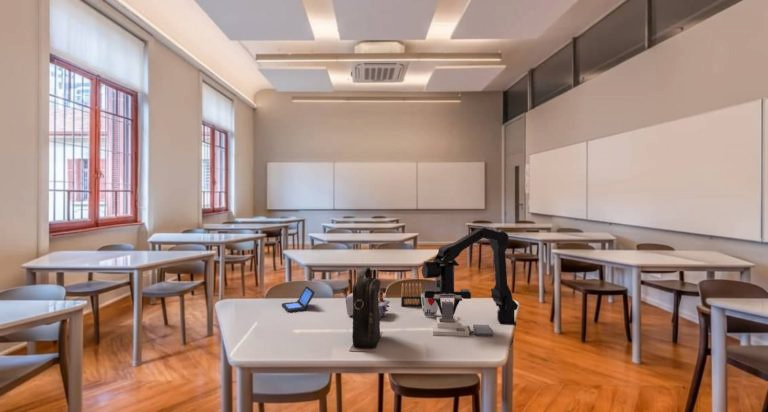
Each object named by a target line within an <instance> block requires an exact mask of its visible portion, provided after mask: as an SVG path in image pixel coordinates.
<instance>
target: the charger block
mask: <svg viewBox="0 0 768 412" xmlns="http://www.w3.org/2000/svg"><path fill="white" fill-rule="evenodd" d="M453 304H454V301H450V299H449V300H448V301H447V299H444V301H441V307H442V315H441V317H442V319H453V318H454V315H453Z"/></svg>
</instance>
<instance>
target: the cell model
mask: <svg viewBox="0 0 768 412" xmlns="http://www.w3.org/2000/svg"><path fill="white" fill-rule="evenodd" d="M378 299H379V301H378V302H379V315H380V318H382V317H384V316H386V315H387V312H389V309H388V308H390V305H389V304H390V302H391V301H390V300H386V299H384V298H383V297H382V296H379V298H378ZM345 308H346V314H347V315H348V316H351V317H353V292H352V293H349V294H348V295H347V296H346V297H345Z"/></svg>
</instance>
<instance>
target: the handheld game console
mask: <svg viewBox="0 0 768 412" xmlns="http://www.w3.org/2000/svg"><path fill="white" fill-rule="evenodd" d="M314 295H315V291H314V290H313V289H312V288H310V287H309V286H308V285H306V286H305V287H304V289H303V291H302V293H301V295H300V296H299V298H298V299H297V300H296V301H291V302H283V303H281V306H282V308H283V309H284V310H285V312H287V313H288V312H291V313H298V311H300V312H307V311H306V310H307V307H308V306H309V305H310V302H311V301H312V298H313V296H314Z"/></svg>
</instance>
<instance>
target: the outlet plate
mask: <svg viewBox="0 0 768 412" xmlns="http://www.w3.org/2000/svg"><path fill="white" fill-rule="evenodd" d="M468 327H469V326H468V325H467V322H466V321H459V320H458V317H453V319H442V316H439V317H438V316H436V320H432V336H453V337H458V336H460V337H469V336H470V334H469V332H470V331H469V328H468Z"/></svg>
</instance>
